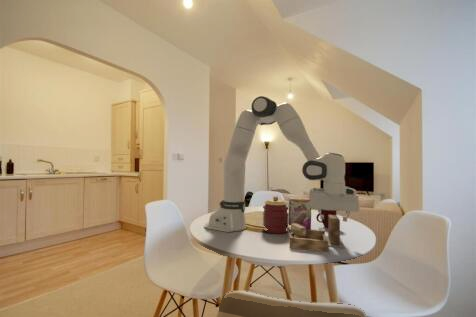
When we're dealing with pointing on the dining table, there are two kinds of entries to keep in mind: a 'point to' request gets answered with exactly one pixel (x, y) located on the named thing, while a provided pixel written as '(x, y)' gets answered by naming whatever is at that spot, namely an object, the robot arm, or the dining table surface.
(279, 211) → the canister
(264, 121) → the robot arm
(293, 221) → the candy bar box
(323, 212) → the mug
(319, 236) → the rack
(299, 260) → the dining table surface
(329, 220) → the tall brown cardboard box
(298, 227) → the offcut top
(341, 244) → the felt pad
